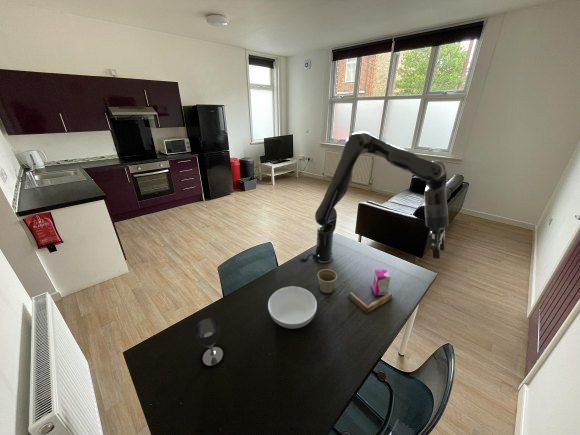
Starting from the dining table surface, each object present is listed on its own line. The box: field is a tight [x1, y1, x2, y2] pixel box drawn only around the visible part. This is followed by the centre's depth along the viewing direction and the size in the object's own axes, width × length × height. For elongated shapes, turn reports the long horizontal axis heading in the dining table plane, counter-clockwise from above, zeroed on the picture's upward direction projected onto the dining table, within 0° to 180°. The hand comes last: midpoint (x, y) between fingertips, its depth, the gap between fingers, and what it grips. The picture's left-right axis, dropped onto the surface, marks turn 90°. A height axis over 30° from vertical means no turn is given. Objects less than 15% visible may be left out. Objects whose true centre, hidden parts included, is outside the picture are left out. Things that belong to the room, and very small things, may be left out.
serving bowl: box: [267, 285, 318, 330], centre depth 103 cm, size 21×21×7 cm
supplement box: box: [371, 268, 391, 297], centre depth 114 cm, size 6×6×12 cm
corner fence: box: [348, 292, 393, 314], centre depth 112 cm, size 16×11×3 cm, turn 121°
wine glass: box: [193, 317, 224, 367], centre depth 84 cm, size 8×8×15 cm
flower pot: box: [317, 268, 338, 294], centre depth 117 cm, size 9×9×9 cm
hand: (438, 253), depth 94 cm, fingers open, 8 cm apart
